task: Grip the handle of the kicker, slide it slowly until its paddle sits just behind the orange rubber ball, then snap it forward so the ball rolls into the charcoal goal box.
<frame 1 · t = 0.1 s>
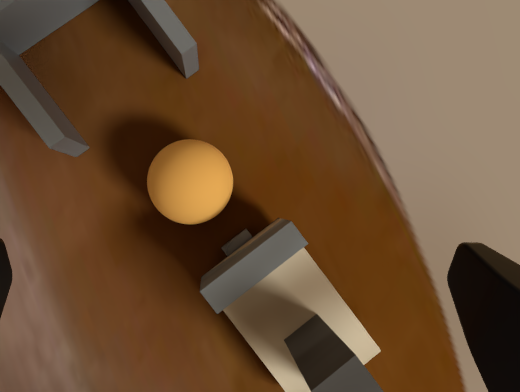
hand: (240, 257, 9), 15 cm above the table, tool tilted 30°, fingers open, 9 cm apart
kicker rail: (285, 305, 24), on the table
kicker: (302, 330, 20), point 5 cm above the table, slide at 0.0 cm
ball: (190, 181, 22), point 2 cm above the table
goal: (102, 64, 24), on the table
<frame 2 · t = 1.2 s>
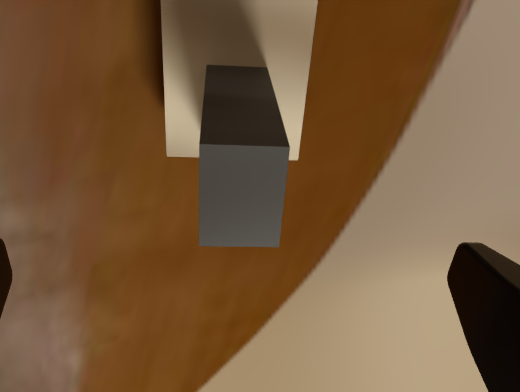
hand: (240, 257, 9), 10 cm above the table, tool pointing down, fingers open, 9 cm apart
kicker: (240, 68, 13), point 5 cm above the table, slide at 0.0 cm
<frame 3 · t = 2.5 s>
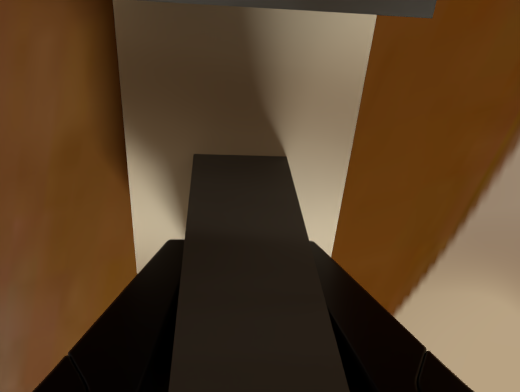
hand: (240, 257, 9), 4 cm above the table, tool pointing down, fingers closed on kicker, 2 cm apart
kicker: (247, 185, 8), point 5 cm above the table, slide at 0.0 cm, touching gripper
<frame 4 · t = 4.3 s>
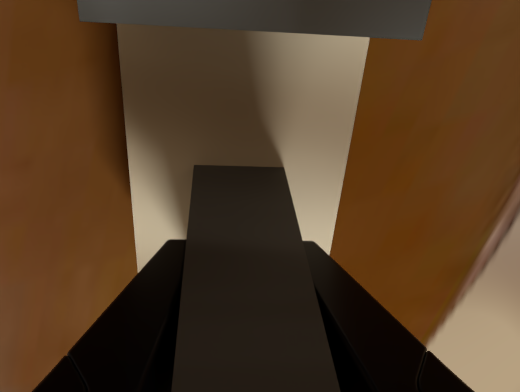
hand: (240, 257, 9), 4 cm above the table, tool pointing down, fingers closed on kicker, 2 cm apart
kicker: (245, 197, 8), point 5 cm above the table, slide at 6.7 cm, touching gripper
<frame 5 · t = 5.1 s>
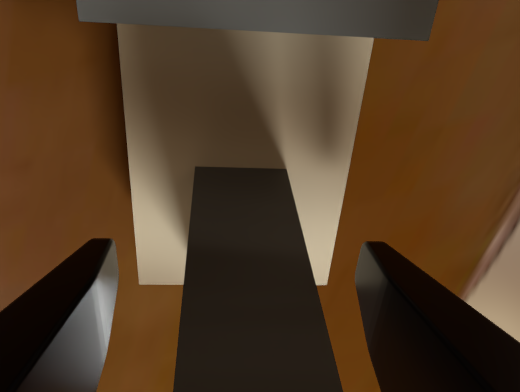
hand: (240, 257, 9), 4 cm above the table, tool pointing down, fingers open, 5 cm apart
kicker: (248, 200, 8), point 5 cm above the table, slide at 6.7 cm
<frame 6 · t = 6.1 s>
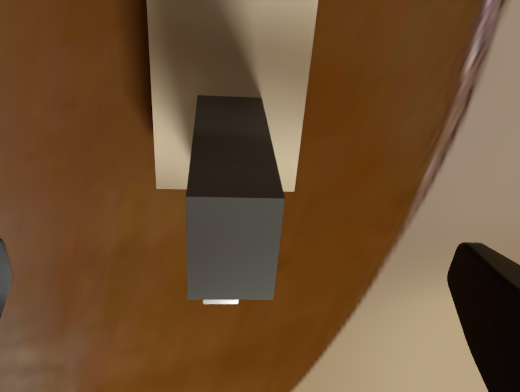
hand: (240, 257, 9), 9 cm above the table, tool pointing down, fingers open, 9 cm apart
kicker: (232, 104, 12), point 5 cm above the table, slide at 6.7 cm
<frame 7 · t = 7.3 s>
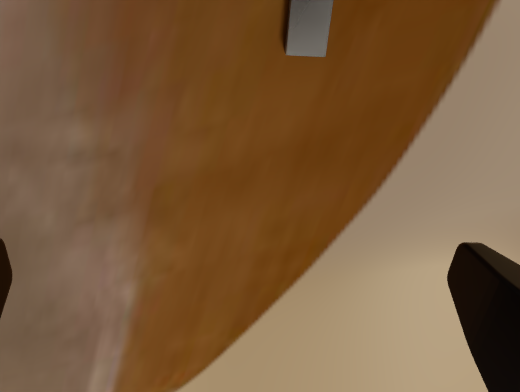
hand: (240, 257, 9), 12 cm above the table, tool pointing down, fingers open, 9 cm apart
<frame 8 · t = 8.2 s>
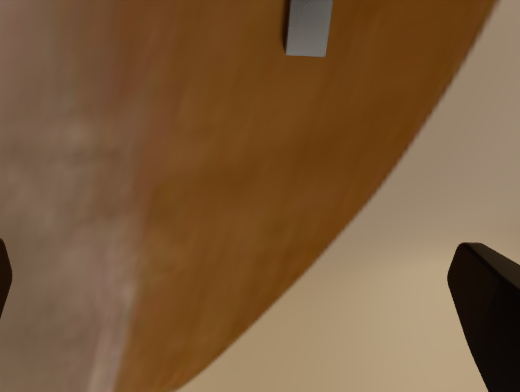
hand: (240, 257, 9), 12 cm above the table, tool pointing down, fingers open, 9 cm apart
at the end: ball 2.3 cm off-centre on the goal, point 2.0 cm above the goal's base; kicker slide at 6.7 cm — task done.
